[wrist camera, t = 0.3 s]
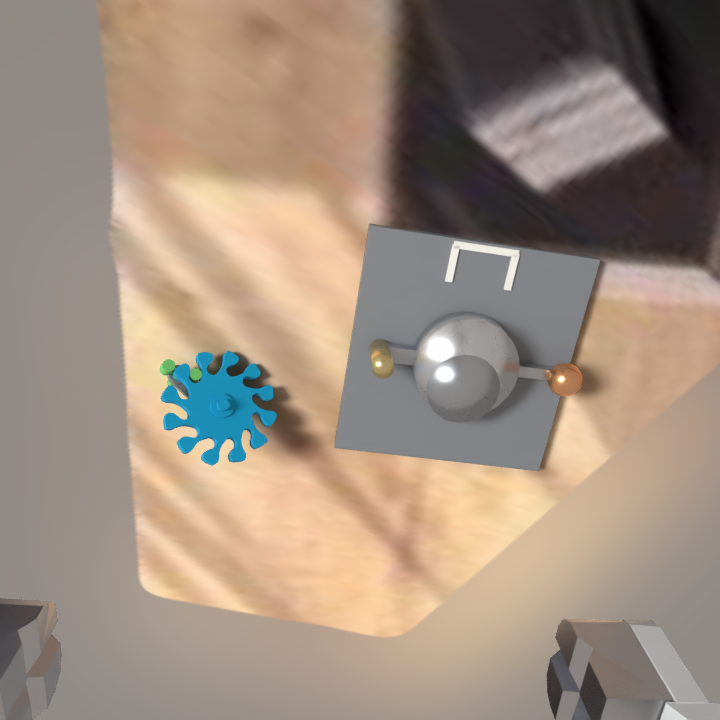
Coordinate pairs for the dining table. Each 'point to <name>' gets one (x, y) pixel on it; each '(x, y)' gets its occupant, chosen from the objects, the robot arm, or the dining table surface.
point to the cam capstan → (467, 366)
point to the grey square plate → (445, 296)
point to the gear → (216, 405)
